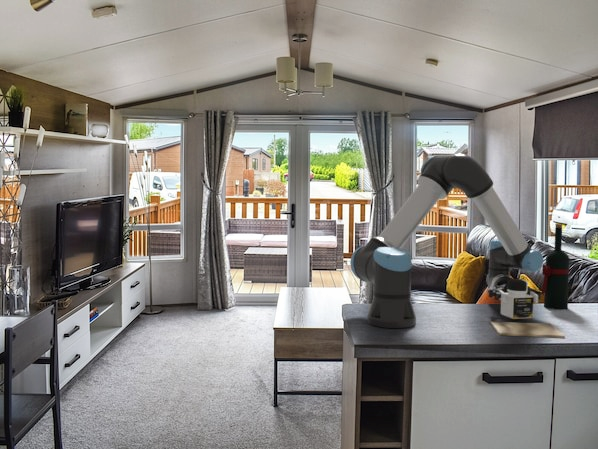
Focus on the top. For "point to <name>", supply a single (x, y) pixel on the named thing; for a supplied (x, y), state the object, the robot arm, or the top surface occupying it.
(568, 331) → the top surface
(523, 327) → the cork mat
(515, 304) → the medicine bottle
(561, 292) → the wine bottle
